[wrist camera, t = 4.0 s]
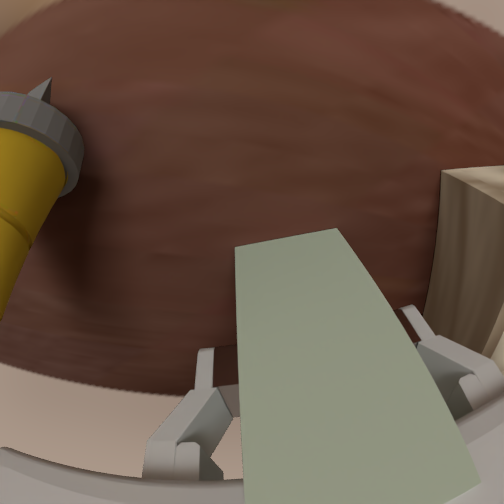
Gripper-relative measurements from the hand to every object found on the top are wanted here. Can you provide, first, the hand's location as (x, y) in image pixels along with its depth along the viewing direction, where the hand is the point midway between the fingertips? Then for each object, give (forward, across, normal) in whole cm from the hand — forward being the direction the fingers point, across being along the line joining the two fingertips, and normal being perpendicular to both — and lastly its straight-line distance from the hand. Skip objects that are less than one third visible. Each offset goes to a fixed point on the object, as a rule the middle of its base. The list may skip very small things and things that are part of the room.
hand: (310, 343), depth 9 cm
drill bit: (+4, +8, -7) cm, 11 cm away
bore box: (+4, -15, +1) cm, 15 cm away
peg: (+4, 0, 0) cm, 4 cm away
